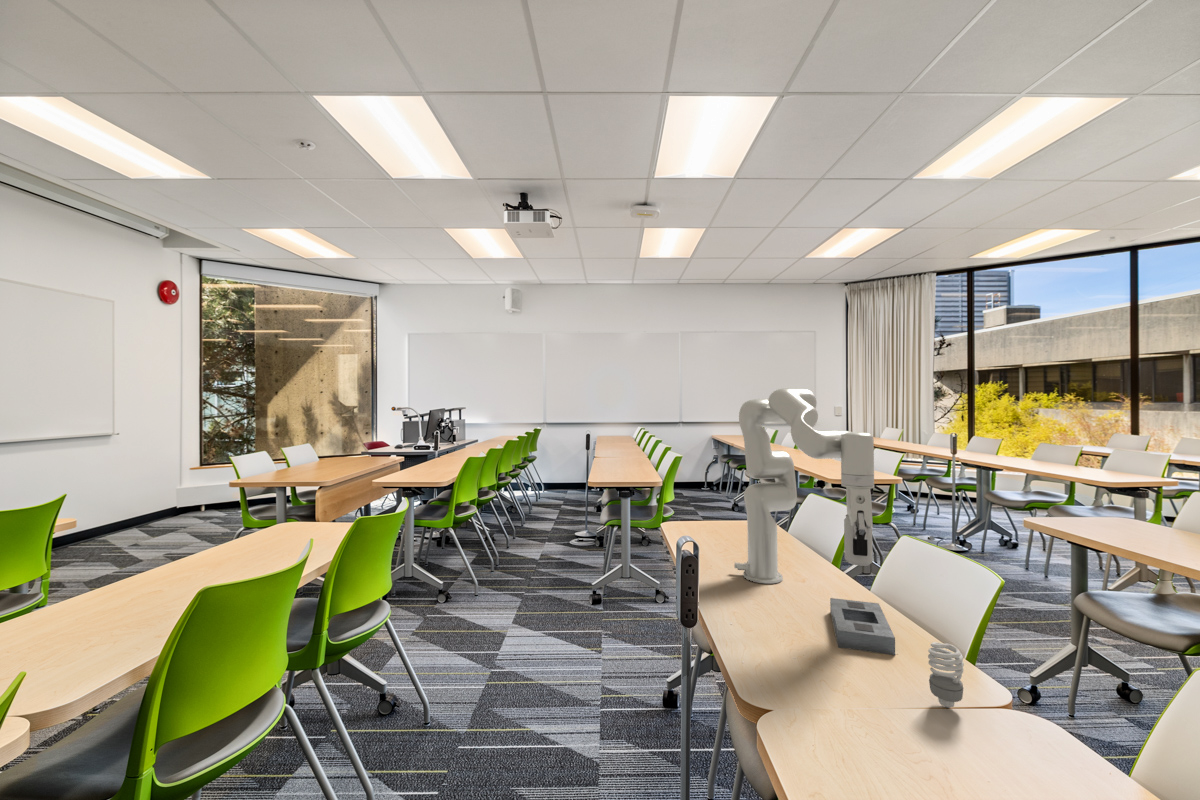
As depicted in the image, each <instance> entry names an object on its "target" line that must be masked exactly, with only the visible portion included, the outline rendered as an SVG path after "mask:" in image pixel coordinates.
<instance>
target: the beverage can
mask: <svg viewBox="0 0 1200 800" xmlns="http://www.w3.org/2000/svg"><path fill="white" fill-rule="evenodd" d="M857 518H858V516H857ZM855 523H856V522H855ZM855 525H856V526H859V525H858V524H855ZM843 527H844V531H843V533H844V534H843V536H844V546H843V547H844V560H845V561H846V562H848V564H850V565H853V566H861V567H863V566H864V567H865V566H867V567H868V566H870V565H871V564H872V563H873V560H874V559H873V557H874V556H873V527H872V528H871V529H870V528H869V527H868V526H867V525H866V533H867V545H868V555H867V556H859V555H854V554H853V538H854V528H853V527H852V526H851V525H850V520H849V517H848V515H847V514H846V515H845V518H844V519H843ZM856 530H859V529H856Z"/></svg>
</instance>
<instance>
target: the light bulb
mask: <svg viewBox="0 0 1200 800" xmlns="http://www.w3.org/2000/svg"><path fill="white" fill-rule="evenodd" d="M927 651H928V655H927V659H928V661H927V662H928V664H929V666H931V667H930V668H929V670H930V671H931V672H932V673H931V674H930V675H929V680H928V682H929V690H930V692H931V693H932V695H933V696H935V697H937V698H938V699H937V701H938V703H939V705H941V706H943V708H946V709H950V708H953V707H955V703H957V702H961V701H962V700H963V695H964V684H963V681H961V679H962V677H963V673H964V665H965V663H964V657H963V654H962V653H961V651H960V650H959V648H958V647H956V646H955V645H953V644H950V643H946V642H945V643H941V642H940V641H939V642H937V641H934V642H931V643H930V647H929V648H928V650H927ZM940 670H941V671H940Z"/></svg>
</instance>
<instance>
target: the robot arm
mask: <svg viewBox="0 0 1200 800" xmlns="http://www.w3.org/2000/svg"><path fill="white" fill-rule="evenodd" d="M817 403H818V402H817V397H816V396H815V394H814V393H813V391H811V390H809V389H805V388H780V389H776V390H774V391H773V392H771V394H770V395H769V397H768V398H756V399H750V400H747V401H745V402H744V403H742V404H741V407H740V408H739V413H738V423H739V427H740V429H741V433H742V437H743V442H744V443H743V444H744V457H745V467H746V472H747V474H748V476H749V477H750V478H752V479H755V480H770V479H771V480H773V479H774V481H775V482H761V483H759V482H758V483H754V484H751V485H748V486H747V487H746V488H745V490H744V491H743V492H744V493H743V499H744V504H745V510H746V511H745V512H746V519H747V520H746V521H747V522H746V523H747V527H746V528H747V529H746V530H747V560H746V561H747V562H743V563H740V562H734V569H736V570H737V571H743V573H742V575H743V578H744V579H745V578H746V579H745V580H747V581H749V580H750V582H752V581H753V583H757V584H765V585H767V584H769V585H771V584H778V583H781V582H782V581H783V580H784V578H783V574H781V572H778V571H779V569H778V568H779V567H778V564H779V563H778V560H779V559H778V526H777V525H778V524H777V521H776V520H775V519H774V517H773V516H772V513H771V512H784V511H790V510H793V509H794V508H795V506H796V505H797V501H798V493H797V482H796V481H797V480H796V472H795V471H796V470H795V464H794V460H793V458H792V457H791V455H790V454H789V453H788V452H786V451H785V450H777V449H776V450H772V447H771V438H770V435H769V433H768V432H767V431H766V429H765V428H764V427H763V426H762V425H786V424H787V425H788V426H790V435H791V438H792V439H791V440H792V442H793V444H794V445H795V446H796V447H797V448H798V449H799V450H800V451H802V452H803V453H804V454H805V455H806V456H808V457H809V458H812V459H817V460H823V459H824V460H825V459H826V460H828V459H840V460H841V461H840V471H841V474H840V475H841V477H840V479H841V481H840V482H841V485H840V486H841V487H843V488H846V490H845V491H846V493H845V494H846V498H845V499H846V515H848V517H849V520H850V525H851V526H852V527H853V528H854V538H853V554H854V555H859V556H867V555H868V545H867V533H866V525H867V526H868V527H869V528H870V529H871V528H872V529H873V528H874V526H873V525H874V524H873V509H872V508H873V507H872V506H873V505H872V503H873V502H872V494H871V490H872V489H874V488H875V464H874V463H875V459H874V458H875V453H874V452H875V451H874V450H875V447H874V445H875V444H874V443H875V442H874V437H873V435H872V434H871V433H868V432H859V431H858V432H854V431H851V430H850V431H849V430H816V429H814V427H815V426H816V424H817V422H818V418H819V413H818V411H817V409H816V408H817V405H818V404H817ZM857 516H858V518H857ZM855 522H856V523H855ZM855 524H858V525H859V526H856V525H855ZM856 529H859V530H856Z"/></svg>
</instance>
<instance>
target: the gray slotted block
mask: <svg viewBox="0 0 1200 800" xmlns="http://www.w3.org/2000/svg"><path fill="white" fill-rule="evenodd" d="M829 601H830V605H829V608H830V617H831V621H832V625H833V632H834V634H835V639H836V640H835V641H836V646H837V648H841V649H842V648H843V649H849V650H855V651H863V652H870V653H875V654H876V653H877V654H884V655H891V656H896V637H895V635H894V633H893V630H892V628H891V627H890V624H889V622H888V619H887V618H886V616H885V613H884V612H883V609H882V608H881V605H880V603H879V602H871V601H863V600H862V601H861V600H852V599H842V598H833V597H830V600H829Z"/></svg>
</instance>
